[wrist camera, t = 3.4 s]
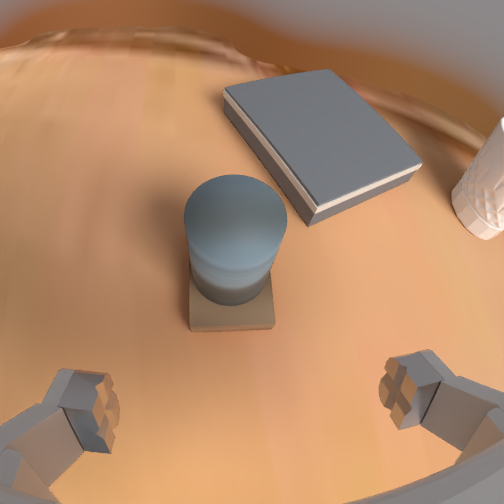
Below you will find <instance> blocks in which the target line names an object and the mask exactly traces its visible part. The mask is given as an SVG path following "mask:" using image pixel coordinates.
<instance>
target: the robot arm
mask: <svg viewBox="0 0 504 504" xmlns="http://www.w3.org/2000/svg"><path fill="white" fill-rule="evenodd" d="M385 370H386V372H387V373H386V374H385V375H384V376H383V377H382V378H381V381H380V384H379V397H380V400H381V402H382V404H383V406H384V407H386V408H388V409H390V410H391V413H390V417H391V419H392V420H393V422H394V424H395V425H396V427H397V429H398V430H401V429H405V428H409V427H412V426H416V425H419V424H421V426H422V427H424V428H425V429H427V430H429V431H430V432H432V433H433V434H435V435H436V436H438V437H440V438H441V439H443V440H444V441H446V442H448V443H449V444H451V445H452V446H454V447H456V448H457V449H459V450H460V451H462V452H461V454H460V455H459V457H458V458H457V459H456V461H455V464H454V465H453V466H450V467H448V468H446V469H444V470H442V471H439V472H437V473H435V474H432V475H430V476H427V477H425V478H422V479H420V480H417V481H415V482H412V483H409V484H407V485H404V486H401V487H398V488H395V489H392V490H389V491H386V492H383V493H380V494H377V495H374V496H370V497H367V498H363V499H360V500H356V501H352V502H348V503H344V504H504V393H503V392H500V391H498V390H495V389H492V388H490V387H487V386H485V385H482V384H479V383H477V382H474V381H472V380H469V379H467V378H464V377H462V376H457V377H456V376H455V375H454V373H453V372H452V371H451V370H450V369H449V368H448V367H447V366H446V365H445V364H444V363H443V362H442V361H441V360H440V358H439V357H438V356H437V355H436V354H435V353H434V352H433V351H431V350H429V349H427V350H423V351H418V352H415V353H411V354H406V355H401V356H396V357H390V358H389V359H388V360H387V362H386V365H385ZM112 387H113V381H112V378H111V375H110V374H108V373H101V372H92V371H83V370H72V369H64V368H62V369H60V370H59V371H58V373H57V375H56V377H55V378H54V380H53V382H52V384H51V386H50V388H49V390H48V392H47V394H46V396H45V398H44V399H43V401H42V403H41V404H35V405H34V406H32V407H30V408H29V409H27V410H25V411H24V412H22V413H21V414H19V415H17V416H16V417H14V418H12V419H11V420H9V421H7V422H6V423H4V424H2V425H1V426H0V504H61V503H60V502H59V500H58V499H57V498H56V497H55V495H54V494H53V493H52V492H51V491H50V490H49V488H48V487H49V486H50V485H51V484H52V483H53V482H54V481H55V480H56V479H57V478H58V477H59V476H60V475H61V474H62V473H64V472H65V471H66V470H67V469H68V468H69V467H70V466H71V465H72V464H73V463H74V462H75V461H76V460H77V459H78V458H79V457H80V456H81V455H82V454H83V453H84V451H90V452H98V453H108V454H111V452H112V447H113V443H114V439H115V435H114V433H113V429H114V428H115V427H116V426H117V425H118V422H119V415H120V407H119V401H118V398H117V395H116V394H115V393H114V392H113V391H112Z"/></svg>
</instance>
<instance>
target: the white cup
mask: <svg viewBox="0 0 504 504" xmlns="http://www.w3.org/2000/svg"><path fill="white" fill-rule="evenodd" d="M451 196H452V205H453V208H454V210H455V213H456V215H457V217H458V218H459V220H460V221H461V222H462V224H463V225H464V227H465V228H466V229H467V230H468V231H470V232H471V233H472V234H473V235H474V236H476V237H477V238H481V239H484V240H489V239H491V238H493V237H495V236H497V235H498V234H499V233H501V232H502V231H503V230H504V117H503V118H502V119H501V120H500V121H499V123H498V124H497V126H496V128H495V129H494V131H493V132H492V133H491V135H490V136H489V138H488V139H487V141H486V142H485V143H484V145H483V146H482V148H481V149H480V150H479V152H478V153H477V155H476V156H475V157H474V159H473V160H472V162H471V164H470V165H469V166H468V168H467V169H466V170H465V173H464V175H463V176H462V178H461V179H460V180H459V181H458V183H457V184H456V185H455V187H454V189H453V190H452V192H451Z"/></svg>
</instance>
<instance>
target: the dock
mask: <svg viewBox="0 0 504 504" xmlns="http://www.w3.org/2000/svg"><path fill="white" fill-rule="evenodd" d="M223 97H224V113H225V115H226V116H227V117H228V119H229V120H230V121H231V122H232V124H233V125H234V126H235V128H236V129H237V130H238V131H239V133H240V134H241V135H242V137H243V138H244V139H245V141H246V142H247V143H248V145H249V146H250V147H251V149H252V150H253V151H254V153H255V154H256V155H257V157H258V158H259V159H260V161H261V162H262V163H263V165H264V166H265V167H266V169H267V170H268V172H269V173H270V174H271V176H272V177H273V178H274V180H275V181H276V182H277V184H278V185H279V187H280V188H281V189H282V191H283V192H284V194H285V195H286V196H287V198H288V199H289V201H290V202H291V203H292V205H293V206H294V208H295V209H296V211H297V212H298V213H299V215H300V216H301V218H302V219H303V221H304V222H305V223H306V225H307V226H308V227H309V226H311V225H313V224H315V223H318V222H320V221H322V220H324V219H326V218H329V217H331V216H333V215H335V214H337V213H340V212H342V211H344V210H346V209H348V208H351V207H353V206H355V205H357V204H359V203H361V202H364V201H366V200H368V199H370V198H372V197H375V196H377V195H379V194H381V193H383V192H386V191H388V190H390V189H392V188H394V187H397V186H399V185H401V184H403V183H405V182H408V181H409V179H410V178H411V177H412V175H413V174H414V172H415V171H416V170H417V169H419V168H420V167H421V165H422V160H421V158H420V157H419V156H418V155H417V154H416V153H415V152H414V151H413V149H412V148H411V147H410V146H409V145H408V144H407V143H406V142H405V141H404V140H403V138H402V137H401V136H400V135H399V134H398V133H397V132H396V131H395V130H394V129H393V128H392V127H391V126H390V125H389V124H388V123H387V122H386V121H385V120H384V119H383V118H382V117H381V116H380V115H379V114H378V113H377V112H376V111H375V110H374V109H373V108H372V107H371V106H370V105H369V104H368V103H367V102H366V101H365V100H364V99H362V98H361V97H360V96H359V95H358V94H357V93H356V92H355V91H354V90H353V89H352V88H350V87H349V86H348V85H347V84H346V83H345V82H344V81H342V80H341V79H340V78H339V77H338V76H337V75H336V74H334V73H333V72H332V71H331V70H329V69H325V70H317V71H309V72H302V73H296V74H289V75H283V76H278V77H272V78H267V79H261V80H256V81H251V82H247V83H242V84H238V85H233V86H229V87H225V90H223Z"/></svg>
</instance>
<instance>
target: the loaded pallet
mask: <svg viewBox="0 0 504 504" xmlns="http://www.w3.org/2000/svg"><path fill="white" fill-rule="evenodd" d="M184 222H185V229H186V236H187V243H188V249H189V326H190V330H191V332H220V331H248V330H268V329H272V328H273V326H274V325H275V315H274V305H273V294H272V284H271V274H270V269H271V267H272V264H273V262H274V259H275V257H276V254H277V252H278V249H279V246H280V244H281V241H282V239H283V236H284V234H285V231H286V227H287V213H286V209H285V206H284V204H283V202H282V200H281V198H280V197H279V196H278V194H277V193H276V192H275V191H274V190H273V189H272V188H271V187H269V186H268V185H267V184H265V183H264V182H262V181H260V180H258V179H255V178H252V177H248V176H244V175H224V176H219V177H216V178H213V179H210V180H208V181H207V182H205V183H203V184H202V185H200V186H199V187H198V188H197V189H196V190H195V191H194V192H193V193H192V195H191V196H190V198H189V199H188V202H187V204H186V207H185V212H184Z"/></svg>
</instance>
